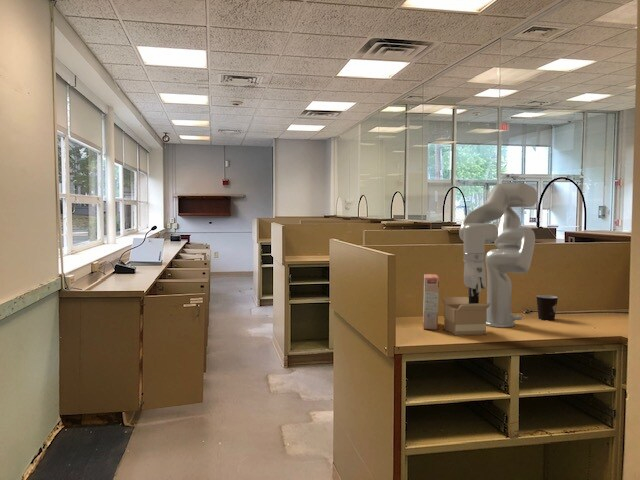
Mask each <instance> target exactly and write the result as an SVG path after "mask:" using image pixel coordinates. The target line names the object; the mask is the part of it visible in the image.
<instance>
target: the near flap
mask: <svg viewBox="0 0 640 480" xmlns="http://www.w3.org/2000/svg"><path fill="white" fill-rule="evenodd" d="M490 305H491V303H487V302H486V303H483V302H482V303H481V302H480V303H476V304H461V305H460V307H459V308H458V309H457V310H458V311H461V310H486V309H487V308H488V307H489V306H490Z"/></svg>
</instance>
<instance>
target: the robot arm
mask: <svg viewBox="0 0 640 480" xmlns="http://www.w3.org/2000/svg"><path fill="white" fill-rule="evenodd" d="M537 202H538V192H537V190H536V188H535V187H534V186H531V185H529V184H527V183H523V182H504V183H503V182H502V183H497V184H496V185H494V186H493V187H492V189H491V191H490V192H489V194H488V196H487V197H486V200H485V201H484V204H483V205H480V206H478V207H477V208H475V209H474V210H472V211H470V212H469V213H468V214H467V215H465V217H464V218H463V220H462V222H461V224H460V227H459V231H458V234H459V235H458V236H459V238H460V240H461V241H463V262H464V264H463V265H464V267H463V285H465V286H466V289H467V290H468V298H469V304H476V303H479V299H480V297H479V296H480V294H481V293H482V289H483V290H485V289H486V303H491V305H490V306H489V307H488V308H487V322H486V326H489V327H495V328H512V327H514V326H515V324H516V323H515V321H522V320H523V316H522V315H519V314H518V315H516V314H514V313H512V286H513V285H512V280H511V278H510V277H509V276H508V275H507V274H508V273H511V274H525V273H528V271H529V269H530V267H531V264H532V259H533V254H534V251H535V245H536V234H535V232H534V230H533V229H532V228H530V227H522V226H521V225H520V224H521V219H520V217H519V215H518V213H517V212H516V211H515V210H514V209H513V208H531V207H534V206H535V205H536V203H537ZM496 220H498V224H497V225H495V224H493V223H490V222H493V221H496ZM520 226H521V227H520ZM491 243H494V246H495V247H497V248H494V249H490V250H489V251H487V253H485V251H486V250H485V249H486V248H485V244H491ZM486 277H487V278H486Z"/></svg>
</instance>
